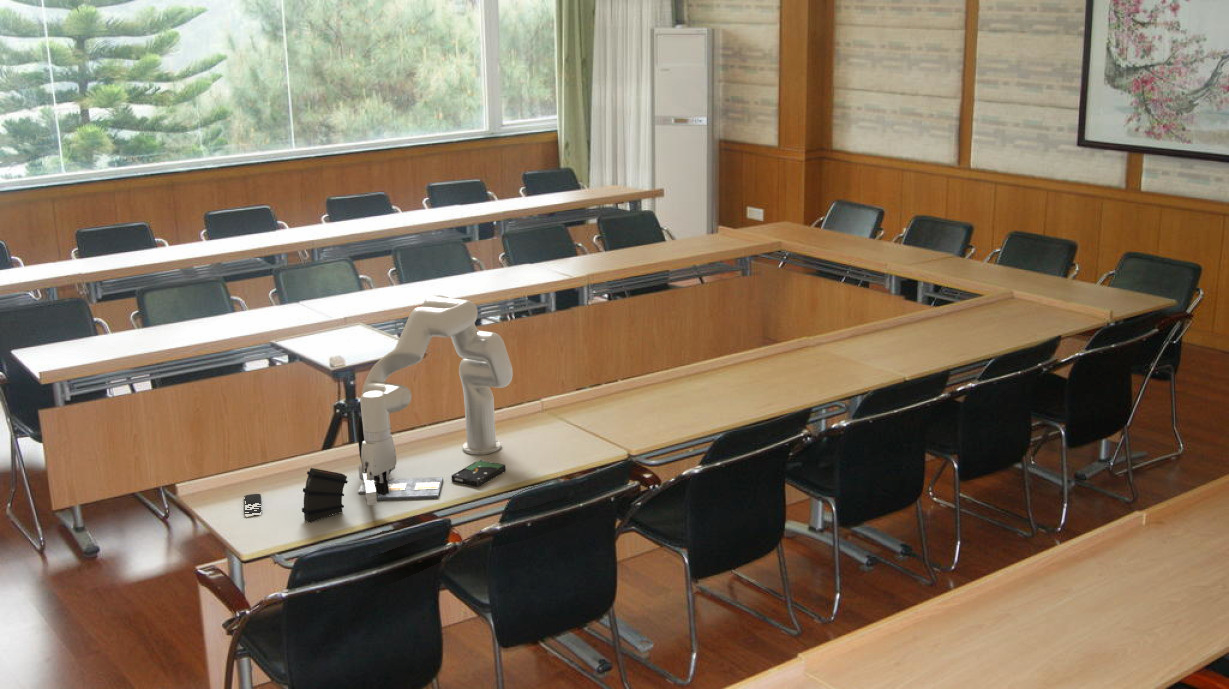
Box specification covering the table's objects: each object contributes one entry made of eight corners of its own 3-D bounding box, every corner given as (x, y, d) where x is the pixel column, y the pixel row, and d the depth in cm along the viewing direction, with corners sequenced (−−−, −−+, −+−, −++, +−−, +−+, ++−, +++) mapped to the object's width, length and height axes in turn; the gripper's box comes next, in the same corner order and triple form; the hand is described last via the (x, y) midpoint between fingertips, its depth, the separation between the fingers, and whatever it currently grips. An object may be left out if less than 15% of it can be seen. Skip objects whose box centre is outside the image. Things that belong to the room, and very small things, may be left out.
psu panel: (384, 482, 368) (384, 478, 368) (443, 480, 369) (442, 476, 368) (377, 500, 355) (376, 496, 355) (438, 498, 355) (437, 494, 355)
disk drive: (478, 489, 362) (506, 472, 375) (478, 481, 362) (506, 464, 374) (451, 484, 367) (479, 466, 380) (450, 475, 367) (478, 458, 379)
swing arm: (373, 473, 364) (372, 462, 363) (380, 503, 342) (379, 491, 341) (359, 475, 363) (358, 464, 362) (364, 505, 341) (363, 493, 340)
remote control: (262, 518, 347) (261, 496, 361) (261, 512, 347) (260, 491, 360) (244, 520, 346) (244, 499, 360) (244, 515, 345) (243, 493, 359)
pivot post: (361, 487, 365) (360, 475, 364) (377, 486, 365) (376, 475, 364) (358, 494, 360) (357, 482, 359) (375, 493, 360) (374, 481, 359)
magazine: (292, 517, 341) (308, 467, 341) (332, 523, 350) (348, 474, 350) (298, 521, 338) (314, 470, 338) (338, 527, 347) (354, 478, 347)
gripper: (385, 423, 348) (391, 482, 353) (348, 440, 336) (354, 500, 341) (405, 428, 344) (410, 487, 349) (368, 445, 332) (374, 505, 337)
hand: (382, 493), depth 345 cm, fingers closed
